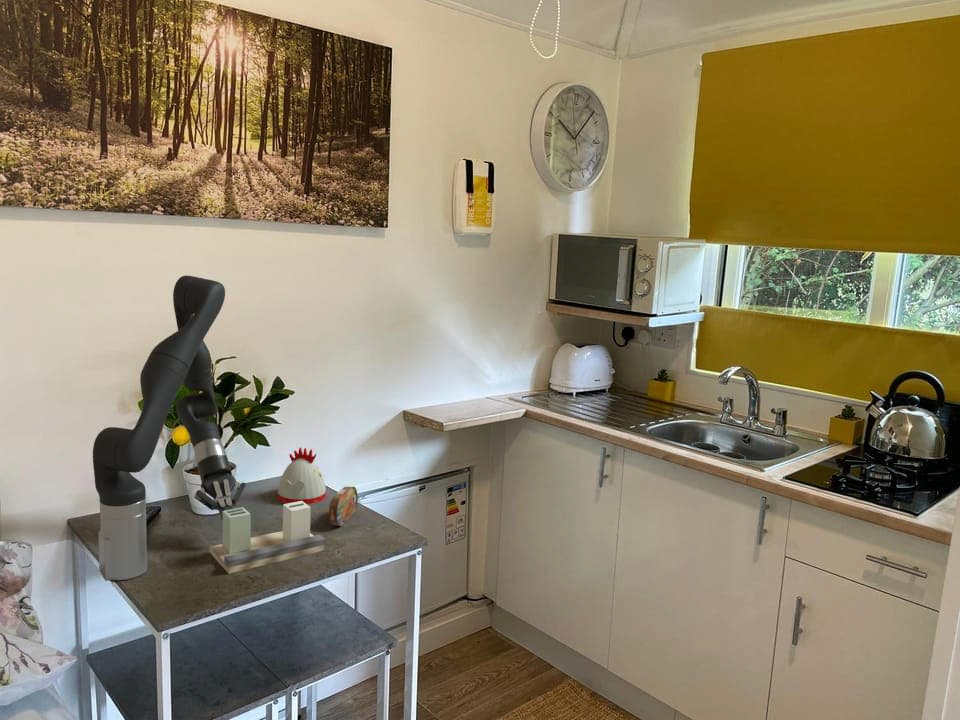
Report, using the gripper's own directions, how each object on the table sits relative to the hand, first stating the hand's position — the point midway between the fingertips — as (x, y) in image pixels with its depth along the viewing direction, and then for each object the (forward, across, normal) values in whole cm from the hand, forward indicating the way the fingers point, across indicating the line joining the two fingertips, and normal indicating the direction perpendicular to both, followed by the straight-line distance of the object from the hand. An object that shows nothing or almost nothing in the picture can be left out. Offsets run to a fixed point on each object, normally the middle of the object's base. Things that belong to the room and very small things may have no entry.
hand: (229, 522), depth 179 cm
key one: (+9, +14, -3) cm, 17 cm away
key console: (+10, +7, -1) cm, 12 cm away
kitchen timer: (-11, +30, +21) cm, 38 cm away
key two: (+7, 0, 0) cm, 7 cm away
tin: (+4, +32, +6) cm, 33 cm away
